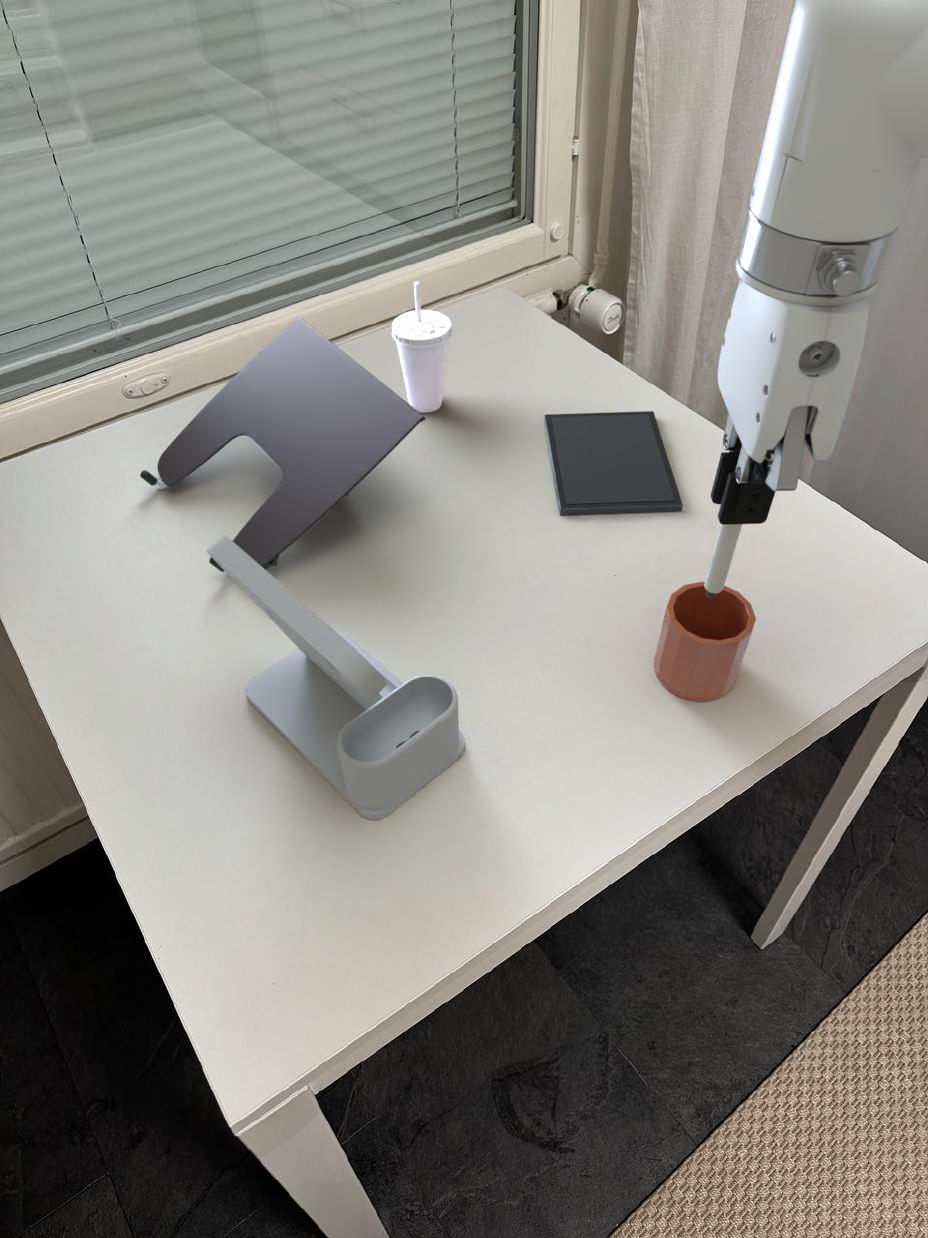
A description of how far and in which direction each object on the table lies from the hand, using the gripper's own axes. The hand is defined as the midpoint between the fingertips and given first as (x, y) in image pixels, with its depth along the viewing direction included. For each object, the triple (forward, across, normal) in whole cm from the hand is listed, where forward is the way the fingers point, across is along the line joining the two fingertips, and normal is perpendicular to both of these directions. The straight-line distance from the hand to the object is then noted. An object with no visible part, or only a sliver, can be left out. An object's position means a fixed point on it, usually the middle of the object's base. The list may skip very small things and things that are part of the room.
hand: (737, 509), depth 61 cm
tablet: (+17, +28, +3) cm, 33 cm away
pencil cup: (+17, 0, 0) cm, 17 cm away
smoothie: (+18, +40, +22) cm, 49 cm away
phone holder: (+18, -4, +28) cm, 33 cm away
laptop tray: (+18, +25, +37) cm, 48 cm away
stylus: (+9, 0, 0) cm, 9 cm away
